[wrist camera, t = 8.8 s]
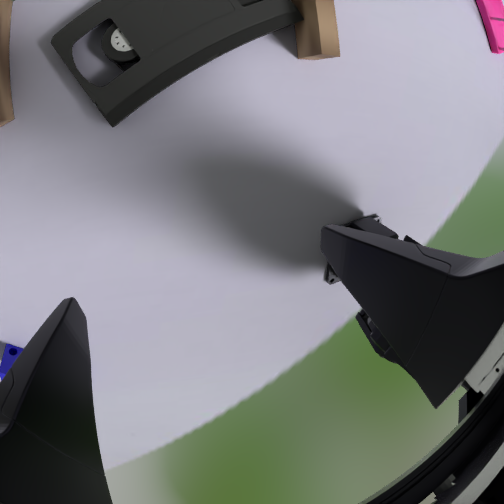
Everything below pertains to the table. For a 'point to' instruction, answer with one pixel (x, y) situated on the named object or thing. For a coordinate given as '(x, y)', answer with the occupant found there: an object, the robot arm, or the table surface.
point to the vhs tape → (165, 42)
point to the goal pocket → (307, 32)
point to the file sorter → (493, 23)
